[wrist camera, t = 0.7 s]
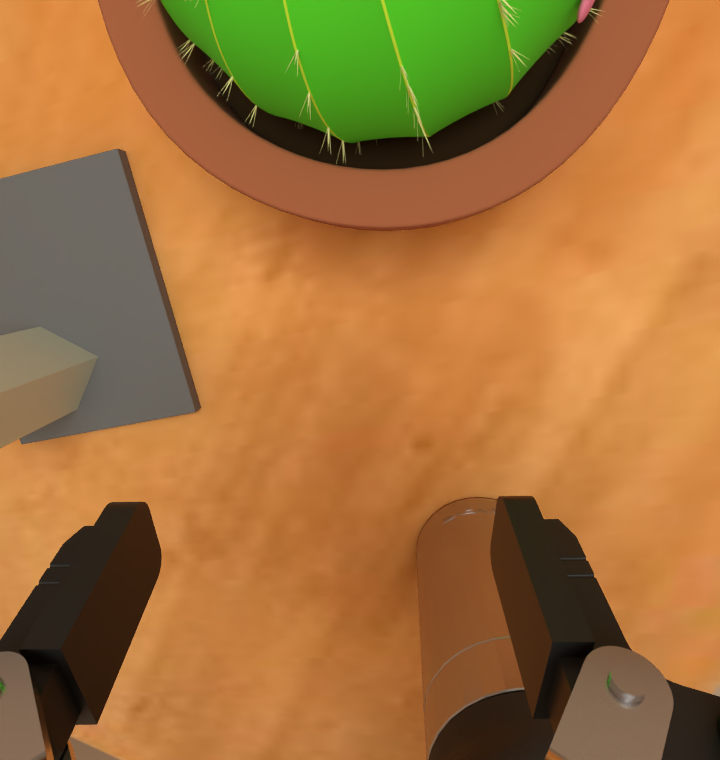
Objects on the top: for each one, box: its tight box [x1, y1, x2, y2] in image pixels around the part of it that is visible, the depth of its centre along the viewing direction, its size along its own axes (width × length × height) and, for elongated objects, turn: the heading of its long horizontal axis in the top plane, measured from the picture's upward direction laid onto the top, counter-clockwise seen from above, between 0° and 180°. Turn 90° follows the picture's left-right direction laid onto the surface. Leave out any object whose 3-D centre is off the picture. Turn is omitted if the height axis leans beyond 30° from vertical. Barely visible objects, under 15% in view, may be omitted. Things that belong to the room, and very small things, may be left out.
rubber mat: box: [0, 149, 201, 444], centre depth 37 cm, size 18×14×1 cm
